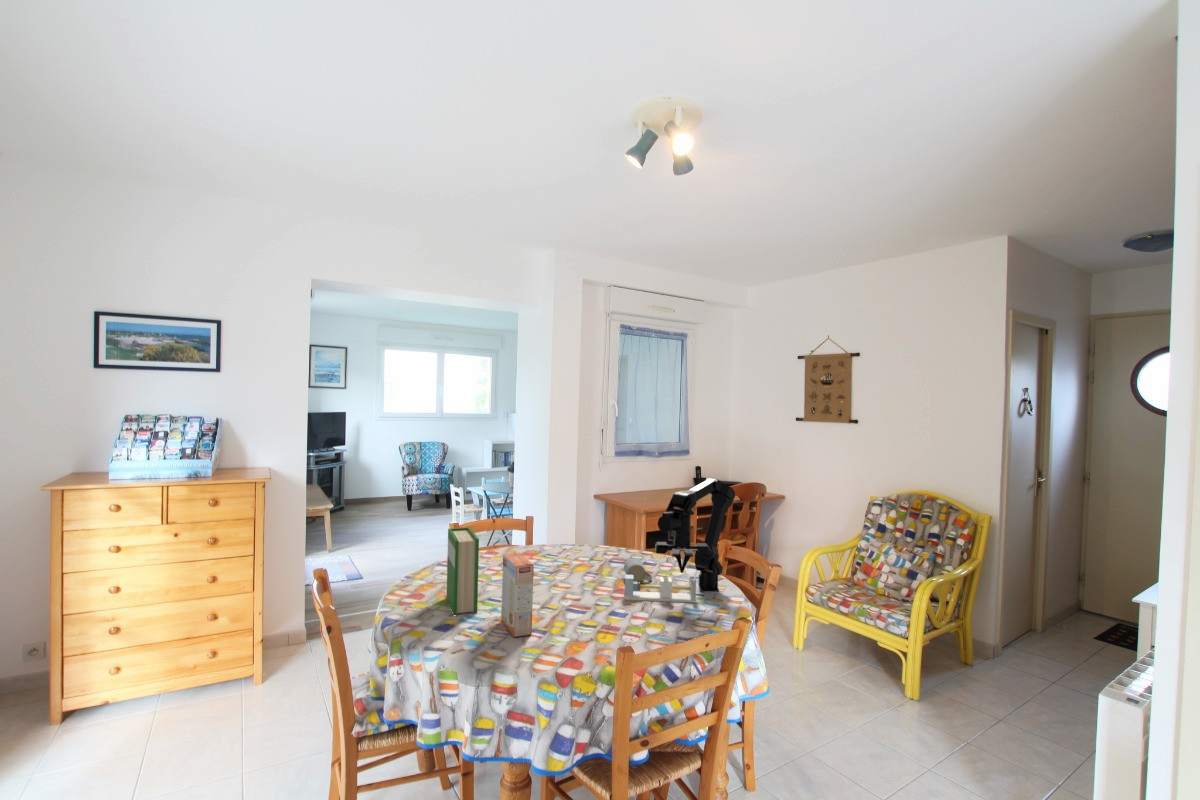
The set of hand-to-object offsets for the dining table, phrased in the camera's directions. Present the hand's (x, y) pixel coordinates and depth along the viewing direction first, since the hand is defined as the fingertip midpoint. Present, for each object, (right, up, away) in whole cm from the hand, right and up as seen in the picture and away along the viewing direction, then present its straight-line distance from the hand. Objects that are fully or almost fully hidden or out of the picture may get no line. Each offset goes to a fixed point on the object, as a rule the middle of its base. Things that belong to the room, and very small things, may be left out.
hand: (681, 572), depth 192 cm
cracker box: (-54, -8, -28) cm, 62 cm away
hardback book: (-75, -8, -11) cm, 77 cm away
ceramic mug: (-14, -9, +20) cm, 26 cm away
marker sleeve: (-6, -8, 0) cm, 10 cm away
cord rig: (-8, -9, 0) cm, 12 cm away
